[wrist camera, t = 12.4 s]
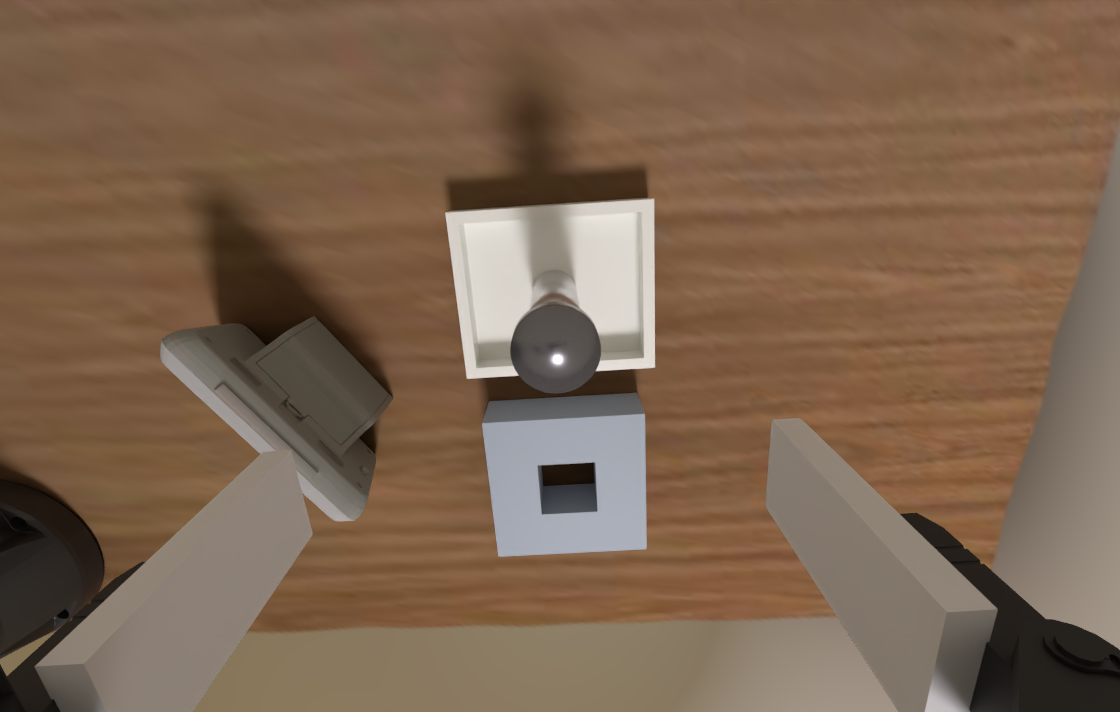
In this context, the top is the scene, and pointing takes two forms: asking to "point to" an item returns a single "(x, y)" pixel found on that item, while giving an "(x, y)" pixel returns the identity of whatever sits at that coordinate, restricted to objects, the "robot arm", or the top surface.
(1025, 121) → the top surface
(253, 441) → the digital clock
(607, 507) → the socket block
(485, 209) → the tray
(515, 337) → the pin
